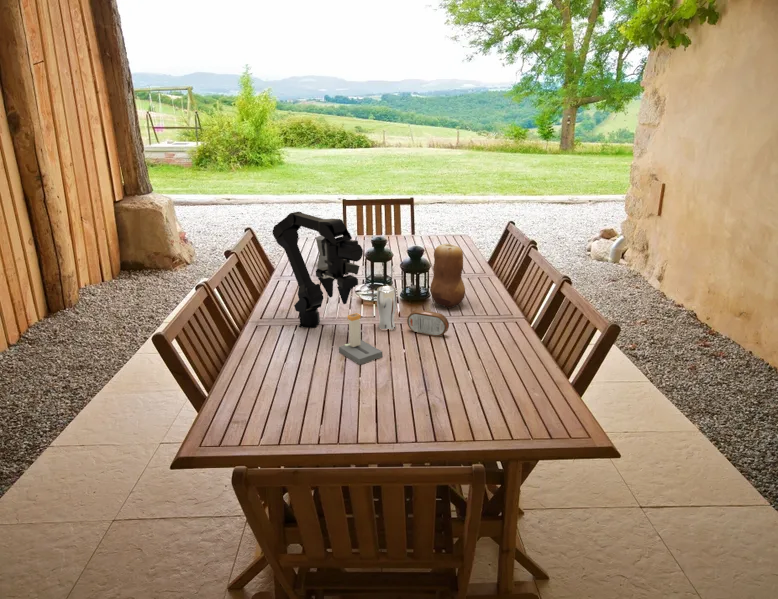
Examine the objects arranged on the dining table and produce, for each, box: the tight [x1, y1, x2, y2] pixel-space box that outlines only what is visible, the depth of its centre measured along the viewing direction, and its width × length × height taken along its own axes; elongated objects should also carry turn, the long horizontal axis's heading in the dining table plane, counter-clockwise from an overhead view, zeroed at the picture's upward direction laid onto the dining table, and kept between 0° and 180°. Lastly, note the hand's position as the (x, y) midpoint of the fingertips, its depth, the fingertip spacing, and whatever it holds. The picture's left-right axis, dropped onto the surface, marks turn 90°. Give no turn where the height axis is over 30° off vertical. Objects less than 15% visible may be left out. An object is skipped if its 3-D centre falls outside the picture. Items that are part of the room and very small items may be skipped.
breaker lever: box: [347, 312, 362, 347], centre depth 190 cm, size 2×4×11 cm, turn 128°
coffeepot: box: [315, 235, 327, 269], centre depth 279 cm, size 15×9×18 cm, turn 178°
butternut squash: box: [429, 243, 466, 309], centre depth 228 cm, size 14×13×25 cm
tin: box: [406, 309, 450, 337], centre depth 204 cm, size 15×3×8 cm, turn 65°
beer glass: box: [376, 285, 397, 329], centre depth 209 cm, size 7×7×15 cm
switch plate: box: [338, 339, 383, 365], centre depth 190 cm, size 12×9×2 cm
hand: (337, 300), depth 201 cm, fingers open, 9 cm apart
